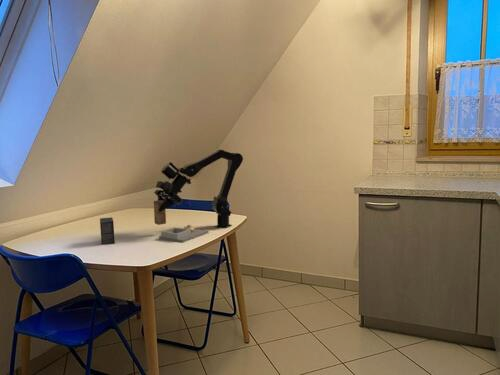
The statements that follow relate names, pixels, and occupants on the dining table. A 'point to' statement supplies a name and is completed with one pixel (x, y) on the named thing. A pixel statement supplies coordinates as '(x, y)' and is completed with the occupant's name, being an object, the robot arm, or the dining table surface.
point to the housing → (182, 234)
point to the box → (107, 230)
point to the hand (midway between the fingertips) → (157, 210)
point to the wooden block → (159, 213)
